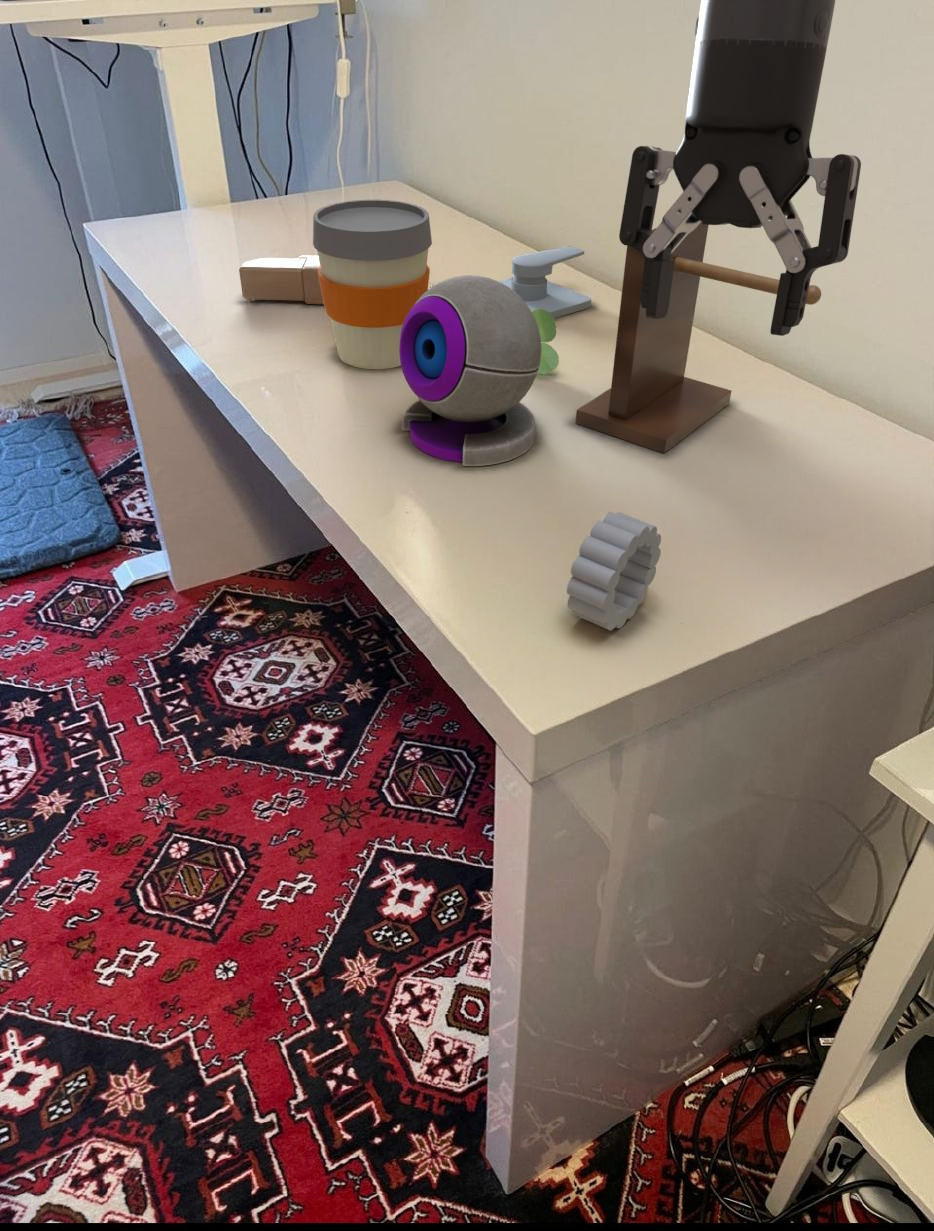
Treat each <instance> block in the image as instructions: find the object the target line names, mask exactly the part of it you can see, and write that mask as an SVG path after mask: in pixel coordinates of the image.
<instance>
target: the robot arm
mask: <svg viewBox="0 0 934 1231" xmlns="http://www.w3.org/2000/svg"><path fill="white" fill-rule="evenodd" d="M835 5H836V0H700V6H699V14H698V17H697V18H696V23H695V29H694V30H695V33H694V35H695V44H694V51H693V58H692V67H691V74H690V79H689V80H690V81H689V89H688V97H687V103H686V110H685V119H684V135H683V138H682V142H681V144H680V145H679V147H678V148H677V151H671V150H663V149H662V148H660V147H656V146H652V145H640V146H637V147H636V148H635V149H634V150H633V152H632V156H631V160H630V167H629V173H628V179H627V186H626V192H625V198H624V203H623V210H622V216H621V222H620V229H619V235H618V239H619V242H620V243H621V244H622V245H623V246H626V247H627V246H628V245H629V246H631V247H633V248H635V249H637V250H638V251H640V252H641V253H642V254H643V256H644V259H645V265H644V273H643V281H642V289H641V290H642V291H641V297H640V302H641V306H642V308H646V317H647V318H652V319H660V318H664V317H666V315H667V313H668V309H669V301H670V294H671V287H672V279H673V272H674V265H675V260H673V259H671V254H672V252H673V251H674V250H675V249H676V248H677V247H678V245H679V244H680V243H681V242H682V241H683V240H684V238H685V237H686V236H687V235H688V234H689V233H690V232H692V231H693V230H694V229H696V228H697V226H698V225H699V224H700V223H701V222H703V224H706V225H709V226H724V225H732V226H734V227H736V228H740V229H741V228H743V229H759V228H760V229H761V227H762V228H763V230H764V232H765V233H766V236H767V237H768V239H769V241H771V243H772V244H773V245H774V246H775V249H776V250H777V252H778V254H779V256H780V258H781V261H782V263H783V265H784V267H785V272H780V276H779V279H778V280H779V286H778V291H777V294H776V298H775V303H774V308H773V313H772V319H771V325H770V335H773V336H781V337H783V336H786V335H789V334H790V332H791V330H792V328H794V327H797V326H799V325H800V323H801V322H802V320H803V319H804V315H805V309H806V306H807V304H806V300H807V295H808V290H809V285H811V284H810V283H811V279H812V276H813V274H814V273H815V271H817V270H818V269H820V268H822V267H826V266H830V265H834V264H838V263H841V262H843V261H844V260H845V259H846V258H847V257H848V255H849V249H850V241H851V235H852V228H853V222H854V217H855V216H854V215H855V209H856V201H857V196H858V188H859V182H860V175H861V170H862V161H861V160H860V157H858V156H857V155H854V154H853V155H852V154H845V153H839V154H836V155H834V156H833V157H813V156H812V152H811V148H810V143H811V142H810V140H811V134H812V130H813V126H814V120H815V113H816V108H817V103H818V98H819V92H820V86H821V81H822V77H823V70H824V66H825V59H826V55H827V49H828V45H829V39H830V33H831V28H832V24H833V23H832V22H833V16H834V12H835ZM672 171H673V172H674V174H675V177H676V179H677V181H678V183H679V185H680V188H681V190H682V193H681V194H680V196H679V197H678V198H677V199H676V200H675V202H674V203H673V204H672V205H671V206H670V207H669V209H668V210H667V211H666V212H665V214H664V215H663V216H662V218H661V219H662V220H661V222H660V223H659V224H658V226H657V227H655V228H656V229H655V228H654V229H655V231H652V230H653V226H654V219H655V215H656V214H655V213H656V209H657V203H658V197H659V192H660V188H661V186H662V185H664V184H665V183H667V181H668V179H669V176H670V173H671V172H672ZM810 177H812V178H813V179H814V181H815V189H816V192H817V194H818V195H819V196H821V197H824V200H823V201H824V202H823V208H822V216H821V222H820V230H819V238H818V244H817V246H813V247H812V245H811V243H810V242H809V239H808V237H807V235H806V233H805V231H804V230H805V227H804V224H803V222H802V220H801V218H800V216H799V214H798V211H797V210H796V208H795V206H794V204H793V201H792V199H793V198H794V197H795V196H796V194H797V193H798V192H799V191H800V190H801V188H802V187H803V186H804V185H805V184H806V183H807V182H808V180H809V179H810Z"/></svg>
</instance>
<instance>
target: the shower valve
mask: <svg viewBox="0 0 934 1231" xmlns="http://www.w3.org/2000/svg"><path fill="white" fill-rule="evenodd" d="M583 255H584V256H585V250H583V249H580V248H578V247H575V246H571V245H568V246H567V245H566V246H563V247H556V248H551V249H547V250H546V249H545V250H541V251H537V252H531V253H525V254H520V255H516V256H514V257H513V258H511V270H510V271H511V273H512V275H513V276H512V277H511V278H506V279H502V280H497V281H498V282H501V283H503V284H504V285H506V286H507V287H509V288H510V289H512V290H513V291H514V292H516V293H517V294H518V295H519V296H520V297H521V298H522V299H523V300H524V302H525V303H526V304H527V306H528V307H529V308H530V310H531V312H532V311H533V310H535V309H536V310H537V309H543V310H546V311H548V312H549V313H550V314H551V315H552V316H553V317H554V319H556V318H560V317H563V316H567V315H570V314H574V313H576V312H580V311H583V310H588V309H589V308H591V306H592V297H590V296H588V295H585V294H584V293H583V294H582V293H580V292H578V291H575V290H573V289H570V288H568V287H565V286H562V285H560V284H558V283H554V282H552V281H550V280H548V279H547V278H546V276H550V275H552V273H553V266H554V265H557V264H559V263H562V262H566V261H569V260H572V259H575V258H578V257H580V256H583Z"/></svg>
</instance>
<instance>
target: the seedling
mask: <svg viewBox="0 0 934 1231" xmlns="http://www.w3.org/2000/svg"><path fill="white" fill-rule="evenodd" d="M532 314H533V316H534V318H535V320H536V322H537V325H538V329H539V333H540V338H541V360H540V366H539V370H538V373H537V375H540V374H541V375H543V376H544V375H548V374H549V373H552V372H553V371H554V370H556V369H557V368H558V366H559V363H560V357H559V354H558V352H557V351H556V349H555V348H553V347H552V345H550V344H549V342H552V341H553V340H554V339H555V338H556V335H557V323H556V318H554V317H553V316H552V315H551V314H550V313H549V312H548V311H546V310H543V309H537V310H536V309H535V310H533V311H532Z"/></svg>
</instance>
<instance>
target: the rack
mask: <svg viewBox="0 0 934 1231" xmlns="http://www.w3.org/2000/svg"><path fill="white" fill-rule="evenodd" d="M709 226H710V225H706V224H703V222H701V223H700V224H699V225H698V226H697V228H696V229H694V230H693V231H692V232H690V233H689V234H688V235H687V236H686V237H685V238H684V240H683V241H682V242H681V243H680V244H679V245H678V247H677V248H676V249H675V250H674V251H673V252H672V254H671V259H673V260H675V265H674V272H673V279H672V287H671V294H670V301H669V309H668V313H667V315H666V317H664V318H660V319H652V318H647V317H646V308H642V306H641V302H640V297H641V291H642V290H641V289H642V281H643V273H644V265H645V259H644V256H643V254H642V253H641V252H640V251H638V250H637V249H635V248H633V247H631V246H629V245H628V246H627V245H626V251H625V262H624V270H623V278H622V288H621V296H620V305H619V314H618V322H617V331H616V333H617V334H616V340H615V350H614V358H613V368H612V377H611V386H610V388H609V389H607V390H605V391H604V392H602V393H601V394H599V395H598V396H596V397H594V398H593V399H591V400H590V401H588V402H586V403H585V404H584V405H582V406H580V407H578V408H577V409H576V412H575V424H577V425H579V426H582V427H585V428H587V429H591V430H593V431H598V432H600V433H603V434H606V435H609V436H610V437H611V436H612V437H615V438H618V439H619V440H620V439H621V440H623V441H626V442H629V443H633V444H635V445H638V446H641V447H644V448H647V449H649V450H653V451H656V452H659V453H661V454H665V453H667V452H668V451H669V450H671V449H672V448H674V447H675V446H676V445H677V444H679V443H680V442H681V441H682V440H684V439H685V438H687V437H688V436H689V435H690V434H692V433H693V432H694V431H695V430H696V429H698V428H700V427H701V426H702V425H703V424H704V423H706V422H707V421H708V420H710V419H711V418H712V417H715V415H717V414H718V413H719V412H720V411H721V410H723V409H724V408H726V407H727V406H728V405H730V403H731V402H730V401H731V397H732V390H731V389H728V388H724V387H721V386H718V385H713V384H711V383H707V382H703V381H700V380H697V379H693V378H690V377H686V376H685V375H686V369H687V368H686V367H687V361H688V356H689V350H690V344H691V337H692V330H693V326H694V325H693V324H694V318H695V312H696V306H697V300H698V293H699V287H700V281H701V278H704V279H709V280H712V281H717V282H722V283H726V284H730V285H734V286H739V287H743V288H747V289H751V290H756V291H760V292H764V293H769V294H773V295H777V291H778V286H779V280H780V279H778V278H773V277H769V276H765V275H759V274H755V273H751V272H747V271H742V270H738V269H733V268H728V267H725V266H719V265H715V264H711V263H707V262H704V255H705V250H706V244H707V238H708V237H707V236H708V231H709ZM656 228H657V227H655V228H652V231H655V229H656ZM821 297H822V290H821V289H820V287H819V286H817V285H816V284H809V290H808V295H807V300H806V305H808V306H809V305H810V306H812V305H815V304H817V303H818V302H819V301H820V299H821Z"/></svg>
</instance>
